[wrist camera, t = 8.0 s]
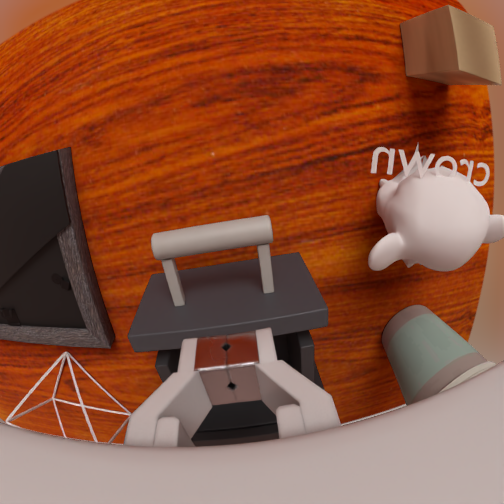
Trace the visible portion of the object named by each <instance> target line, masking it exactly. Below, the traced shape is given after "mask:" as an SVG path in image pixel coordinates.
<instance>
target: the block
mask: <svg viewBox="0 0 504 504" xmlns="http://www.w3.org/2000/svg"><path fill="white" fill-rule="evenodd" d="M400 27H401V34H402V41H403V49H404V57H405V67H406V76H409V77H414V78H419V79H424V80H429V81H434V82H438V83H442V84H446V85H502V84H501V73H500V64H499V57H498V50H497V44H496V38H495V33H494V28H493V26H491V25H490V24H488V23H486V22H484V21H482V20H480V19H478V18H476V17H474V16H472V15H470V14H468V13H466V12H463V11H461V10H459V9H457V8H454V7H452V6H450V5H447V6H444V7H441V8H439V9H436V10H433V11H430V12H428V13H425V14H422V15H420V16H417V17H415V18H412V19H410V20H407V21H405V22H403V23H400Z"/></svg>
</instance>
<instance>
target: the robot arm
mask: <svg viewBox="0 0 504 504" xmlns="http://www.w3.org/2000/svg"><path fill="white" fill-rule="evenodd" d="M256 400H262V401H263V402H264V403H265V404H266V406H267V407H268V408H269V409H270V410H271V411H272V412H273V413H274V414H275V415H276V417H277V424H278V431H279V438H280V439H274V440H267V441H260V442H251V443H242V444H232V445H219V446H200V447H195V445H194V444H193V442H192V440H191V438H192V437H193V435H194V434H195V432H196V431H197V429H198V428H199V426H200V425H201V423H202V422H203V420H204V419H205V417H206V416H207V414H208V413H209V411H210V410H211V408H212V405H221V404H229V403H236V402H247V401H256ZM0 504H504V361H502V362H500V363H498V364H497V365H495V366H493V367H491V368H490V369H488V370H486V371H484V372H482V373H480V374H478V375H476V376H474V377H472V378H470V379H468V380H466V381H464V382H462V383H460V384H458V385H456V386H454V387H451V388H449V389H447V390H445V391H442V392H440V393H438V394H435V395H433V396H431V397H428V398H426V399H423V400H421V401H418V402H415V403H413V404H410V405H407V406H405V407H402V408H399V409H396V410H393V411H390V412H387V413H384V414H381V415H378V416H375V417H371V418H368V419H365V420H361V421H358V422H354V423H351V424H347V425H343V426H341V423H340V420H339V417H338V414H337V411H336V408H335V405H334V402H333V399H332V396H331V395H330V394H329V393H327V392H326V391H324V390H323V389H322V388H320V387H319V386H317V385H316V384H314V383H313V382H312V381H310V380H309V379H307V378H306V377H305V376H303V375H302V374H301V373H299V372H298V371H296V370H295V369H294V368H292V367H291V366H290V365H288V364H287V363H286V362H284V361H283V360H277V356H276V351H275V346H274V341H273V336H272V331H271V328H270V327H269V328H264V329H258V330H256V331H255V330H254V331H248V332H241V333H234V334H227V335H218V336H208V337H198V338H189V339H184V340H183V341H182V346H181V352H180V358H179V365H178V371H177V373H173V374H172V375H171V376H170V377H169V378H168V379H167V380H166V381H165V382H164V383H163V384H162V385H161V386H160V387H159V388H158V389H157V390H156V391H155V392H154V393H153V394H152V395H151V396H150V397H148V398H147V399H146V400H145V401H144V402H143V403H142V404H141V405H140V406H139V407H138V408H137V409H136V410H135V411H134V412H133V413H132V414H131V415H130V418H129V422H128V427H127V431H126V435H125V440H124V444H123V445H116V444H105V443H97V442H89V441H82V440H75V439H69V438H63V437H58V436H53V435H48V434H43V433H39V432H34V431H30V430H26V429H22V428H18V427H15V426H11V425H8V424H4V423H1V422H0Z"/></svg>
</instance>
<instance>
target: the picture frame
mask: <svg viewBox="0 0 504 504" xmlns="http://www.w3.org/2000/svg"><path fill="white" fill-rule="evenodd" d="M114 338H115V335H114V332H113V329H112V326H111V323H110V321H109V318H108V315H107V312H106V309H105V306H104V302H103V299H102V296H101V293H100V289H99V286H98V283H97V279H96V276H95V272H94V269H93V265H92V261H91V257H90V253H89V249H88V245H87V241H86V236H85V232H84V227H83V223H82V218H81V213H80V208H79V202H78V197H77V191H76V185H75V178H74V171H73V164H72V156H71V147H68V148H64V149H60V150H56V151H52V152H48V153H44V154H41V155H37V156H33V157H30V158H27V159H23V160H20V161H17V162H14V163H10V164H7V165H4V166H1V167H0V339H3V340H11V341H19V342H28V343H37V344H48V345H60V346H74V347H91V348H111V346H112V343H113V341H114Z"/></svg>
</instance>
